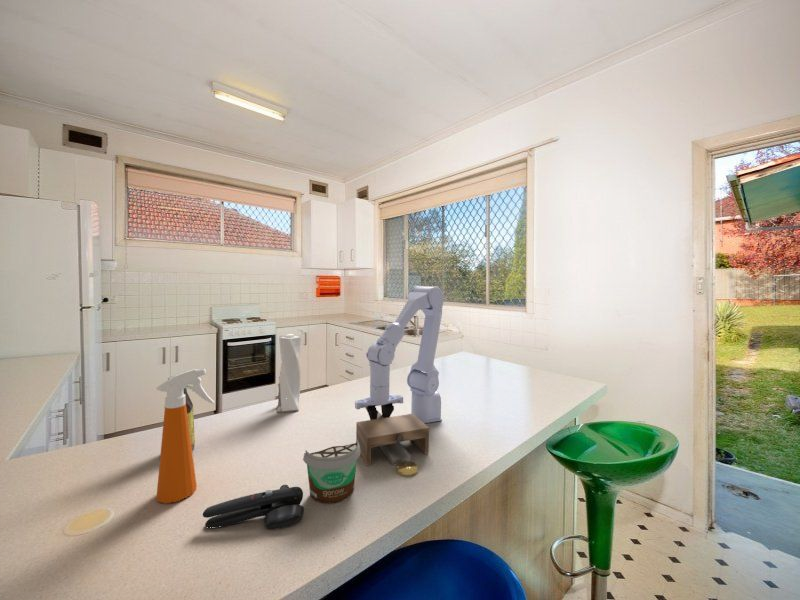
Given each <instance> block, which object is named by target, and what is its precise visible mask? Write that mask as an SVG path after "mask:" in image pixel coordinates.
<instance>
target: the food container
mask: <svg viewBox="0 0 800 600" xmlns="http://www.w3.org/2000/svg"><path fill="white" fill-rule="evenodd" d="M360 453H361V451H360V446H359V443H358V440H357V439H355V443H350V444H346V445H336V446H331V447H328V448H325V449H322V450H319V451H315V452H309V451H308V450H307V449H305V452H304V454H303V459H302V460H303V462H304V463H305V464H306V467H307V468H306V469H307V479H308V487H309V495H310V497H311V499H312V500H314V501H315V502H318V503H321V504H329V505H331V504H338V503H340V502H343V501H345V500H347V499H348V498H349V497H350V496H351V495H352V494H353V492H354V490H355V478H356V471H357V462H358V459H359V458H360V456H361V455H360Z"/></svg>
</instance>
